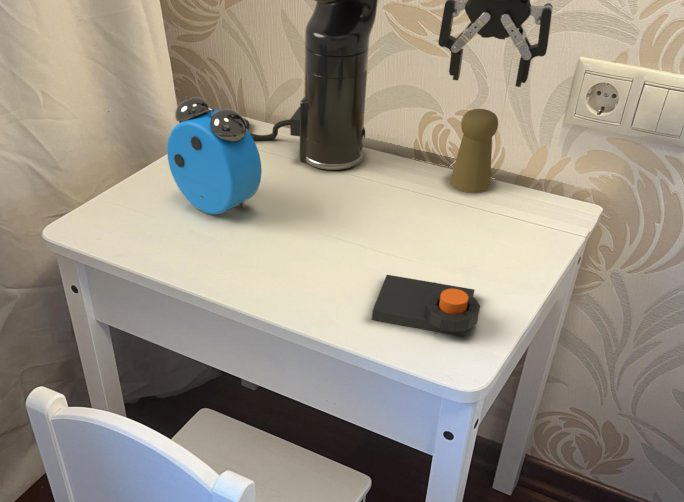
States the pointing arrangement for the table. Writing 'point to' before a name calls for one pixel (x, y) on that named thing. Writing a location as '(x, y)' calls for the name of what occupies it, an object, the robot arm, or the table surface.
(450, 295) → the tare button
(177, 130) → the alarm clock
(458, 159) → the olive brown pawn
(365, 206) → the table surface
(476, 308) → the scale
